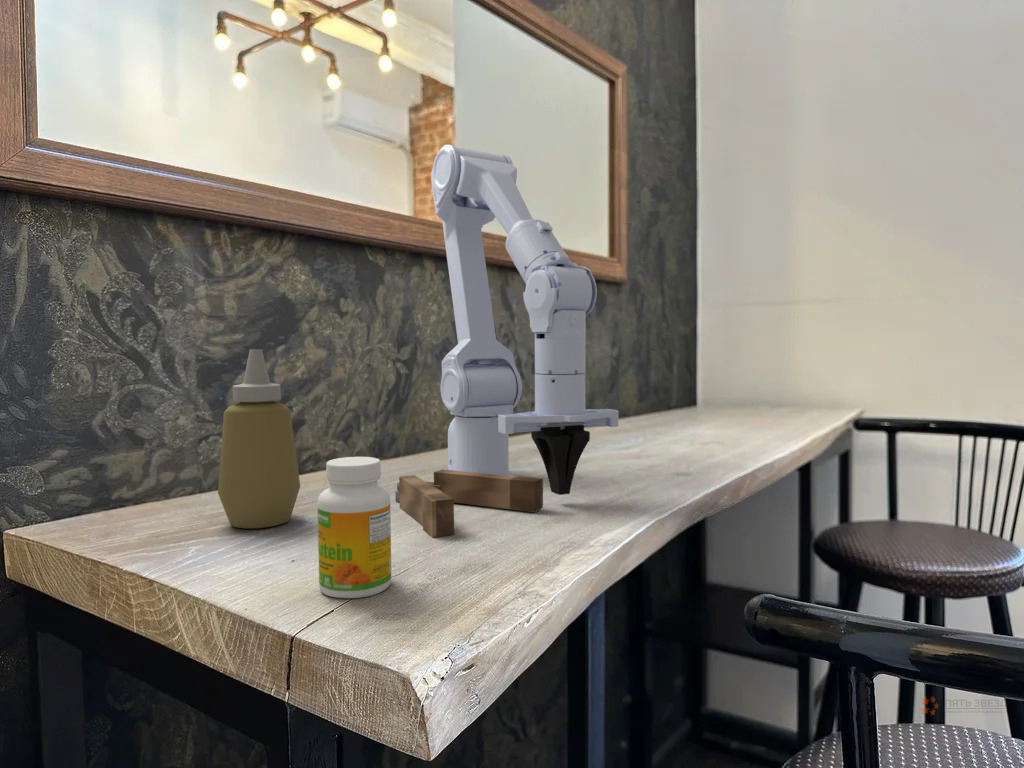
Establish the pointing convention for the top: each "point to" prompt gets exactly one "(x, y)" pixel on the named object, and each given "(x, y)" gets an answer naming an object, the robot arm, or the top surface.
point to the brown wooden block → (426, 505)
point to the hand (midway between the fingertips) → (560, 492)
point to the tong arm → (490, 489)
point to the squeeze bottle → (258, 452)
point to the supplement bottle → (354, 530)
